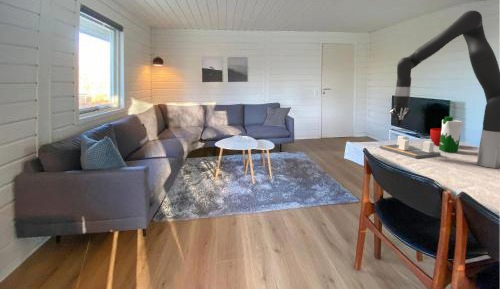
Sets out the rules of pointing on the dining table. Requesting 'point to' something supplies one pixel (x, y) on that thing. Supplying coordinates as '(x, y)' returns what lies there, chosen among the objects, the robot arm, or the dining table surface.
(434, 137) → the ceramic cup
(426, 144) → the block
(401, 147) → the block
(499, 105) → the robot arm
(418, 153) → the panel
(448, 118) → the milk carton
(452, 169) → the dining table surface
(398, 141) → the block
